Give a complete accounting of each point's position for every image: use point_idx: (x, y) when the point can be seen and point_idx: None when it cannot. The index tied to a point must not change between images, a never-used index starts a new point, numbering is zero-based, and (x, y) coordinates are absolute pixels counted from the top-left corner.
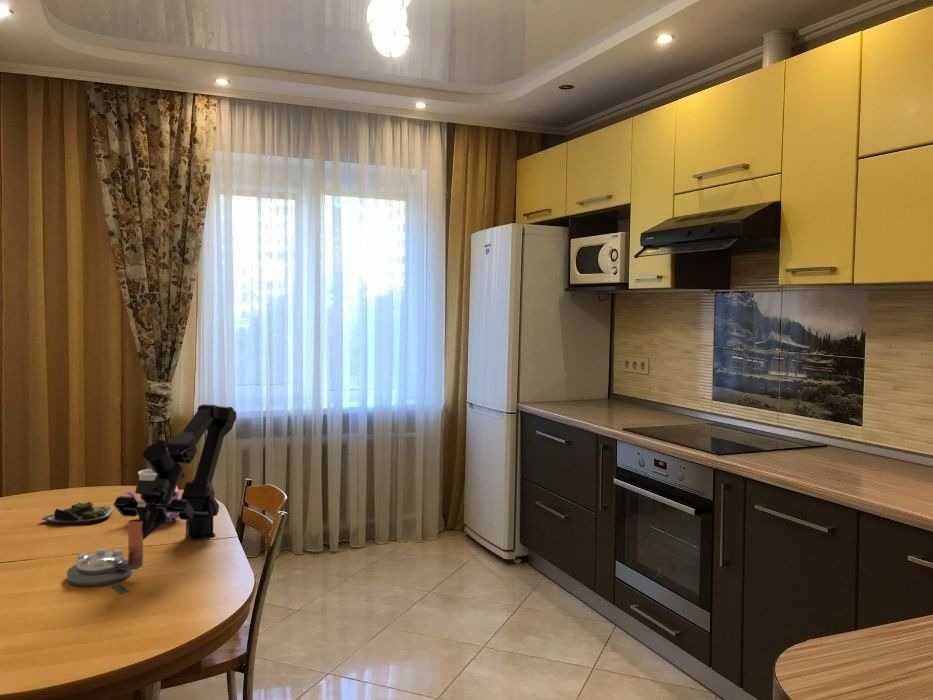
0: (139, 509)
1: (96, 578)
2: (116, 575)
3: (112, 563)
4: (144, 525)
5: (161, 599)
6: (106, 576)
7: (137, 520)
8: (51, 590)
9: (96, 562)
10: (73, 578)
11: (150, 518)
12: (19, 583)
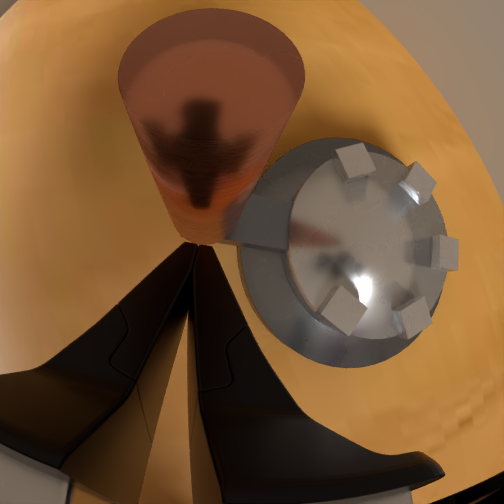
0: (338, 462)
1: (320, 140)
2: (265, 174)
3: (304, 184)
4: (192, 334)
5: (77, 75)
6: (293, 152)
7: (197, 84)
8: (411, 142)
9: (357, 144)
10: (392, 158)
11: (109, 365)
12: (488, 200)
